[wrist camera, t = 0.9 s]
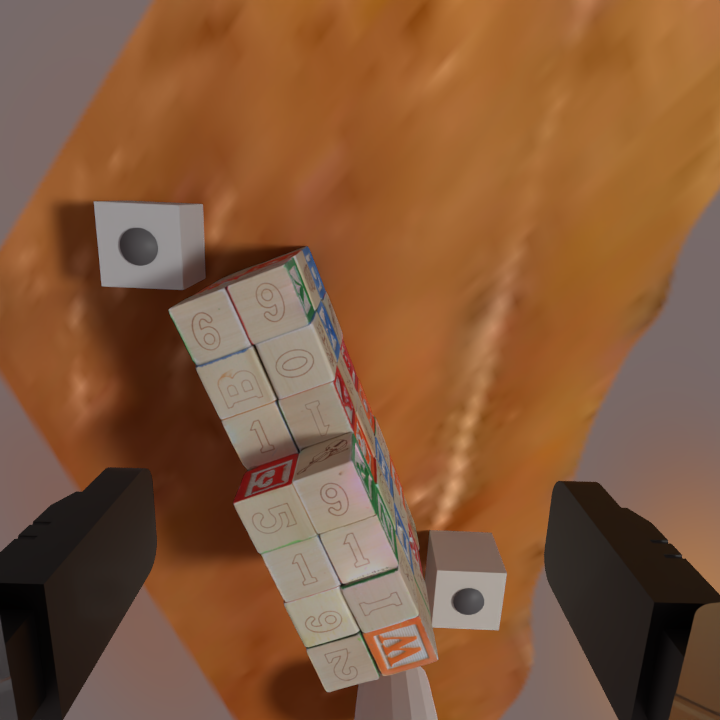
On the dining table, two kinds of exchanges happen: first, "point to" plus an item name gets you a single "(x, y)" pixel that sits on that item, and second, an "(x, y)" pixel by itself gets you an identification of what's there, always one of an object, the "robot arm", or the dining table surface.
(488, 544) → the ivory marked cube
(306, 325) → the stack of blocks
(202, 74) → the dining table surface
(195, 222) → the grey marked cube
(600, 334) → the dining table surface
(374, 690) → the shot glass
